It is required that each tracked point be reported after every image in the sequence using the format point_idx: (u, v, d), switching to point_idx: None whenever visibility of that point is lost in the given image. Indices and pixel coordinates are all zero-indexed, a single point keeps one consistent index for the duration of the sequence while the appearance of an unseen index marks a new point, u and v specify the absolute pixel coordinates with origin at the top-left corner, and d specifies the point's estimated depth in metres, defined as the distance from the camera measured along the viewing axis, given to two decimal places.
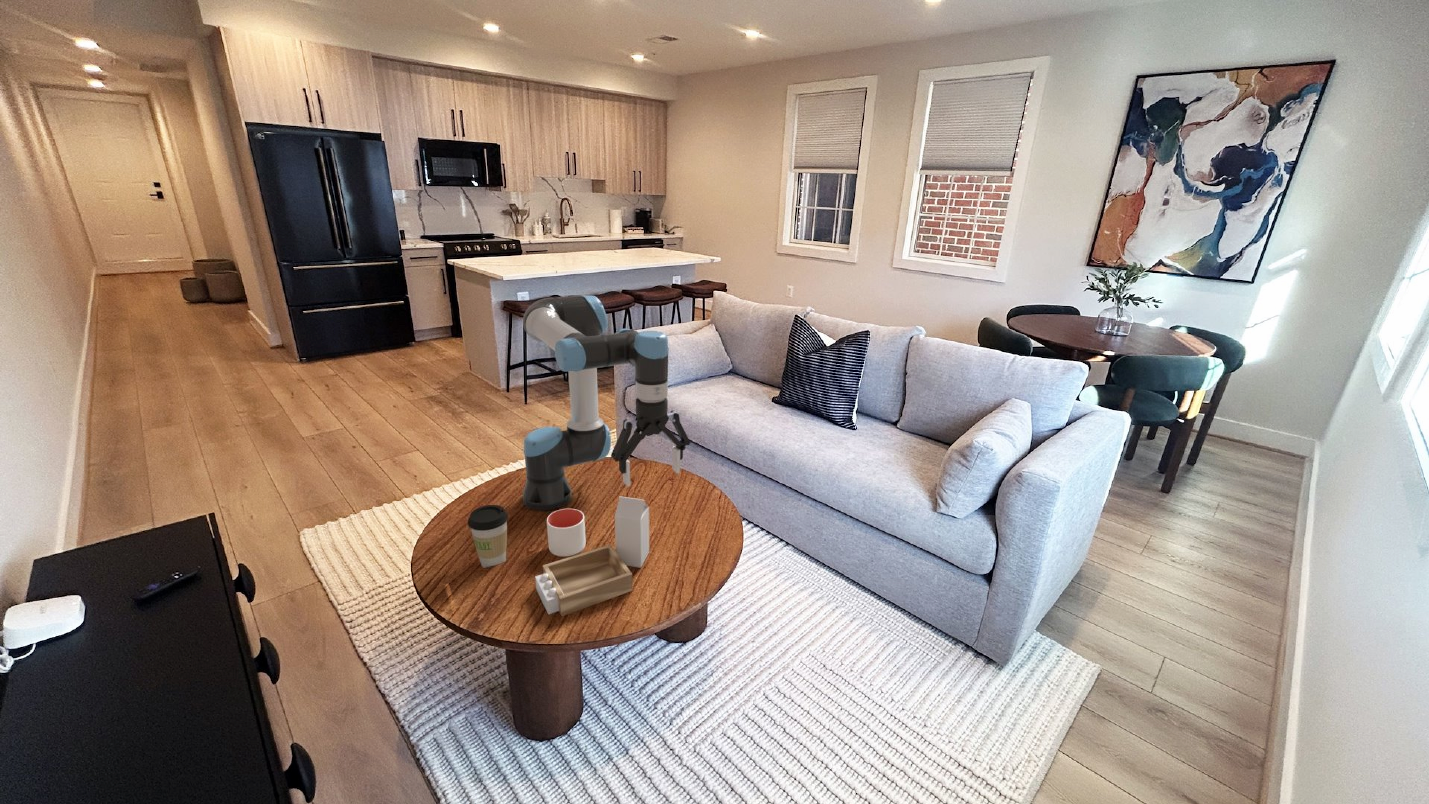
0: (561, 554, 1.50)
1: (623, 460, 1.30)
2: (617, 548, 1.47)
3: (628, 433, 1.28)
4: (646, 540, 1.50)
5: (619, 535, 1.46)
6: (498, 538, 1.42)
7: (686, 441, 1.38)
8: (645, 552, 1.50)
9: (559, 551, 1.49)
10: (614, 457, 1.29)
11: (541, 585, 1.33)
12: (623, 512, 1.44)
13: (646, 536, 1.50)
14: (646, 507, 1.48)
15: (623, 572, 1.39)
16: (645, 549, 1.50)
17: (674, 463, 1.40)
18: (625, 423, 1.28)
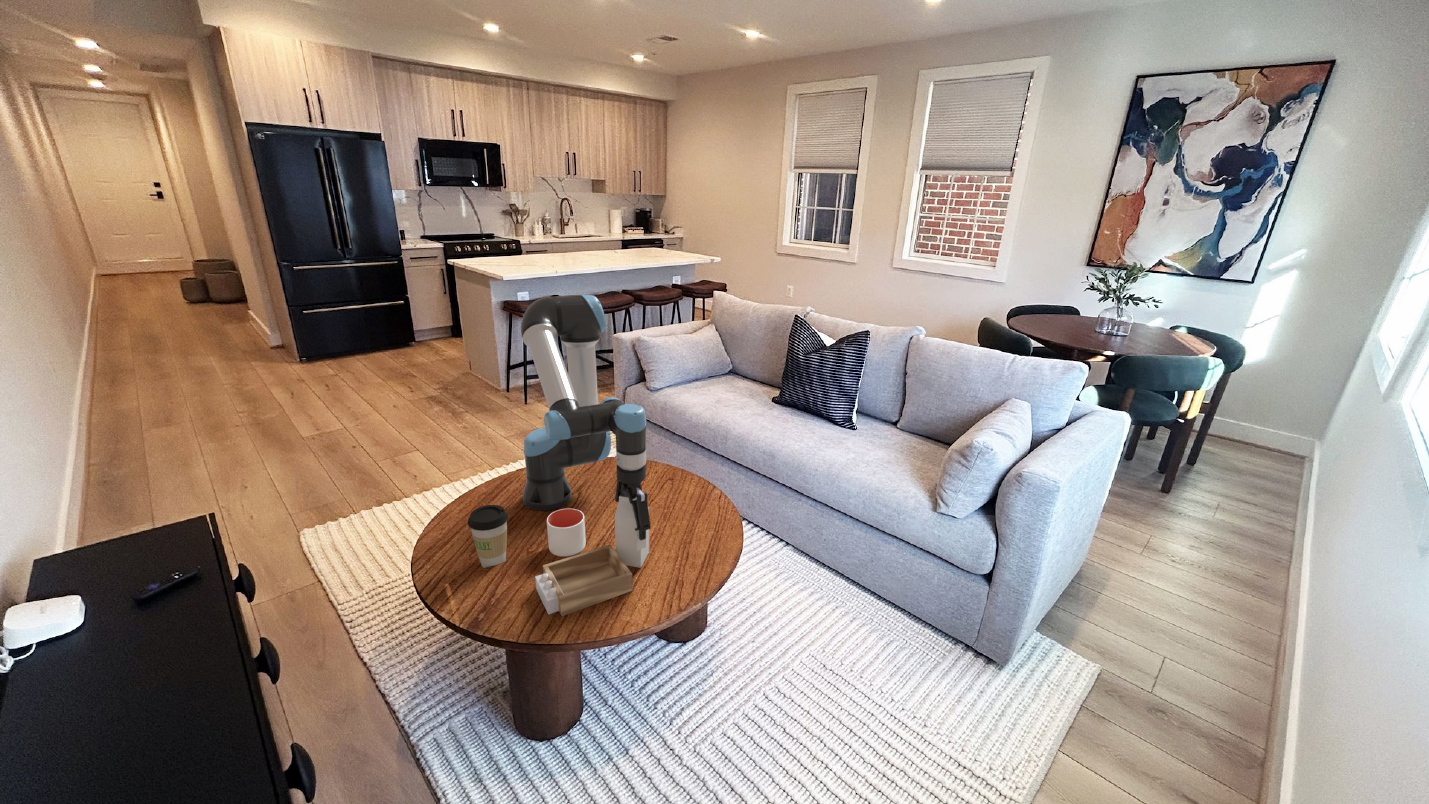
0: (561, 554, 1.50)
1: None
2: (617, 548, 1.47)
3: (618, 482, 1.49)
4: (646, 540, 1.50)
5: (619, 535, 1.46)
6: (498, 538, 1.42)
7: (640, 526, 1.40)
8: (645, 552, 1.50)
9: (559, 551, 1.49)
10: None
11: (541, 585, 1.33)
12: (623, 512, 1.44)
13: (646, 536, 1.50)
14: None
15: (623, 572, 1.39)
16: (645, 549, 1.50)
17: None
18: None
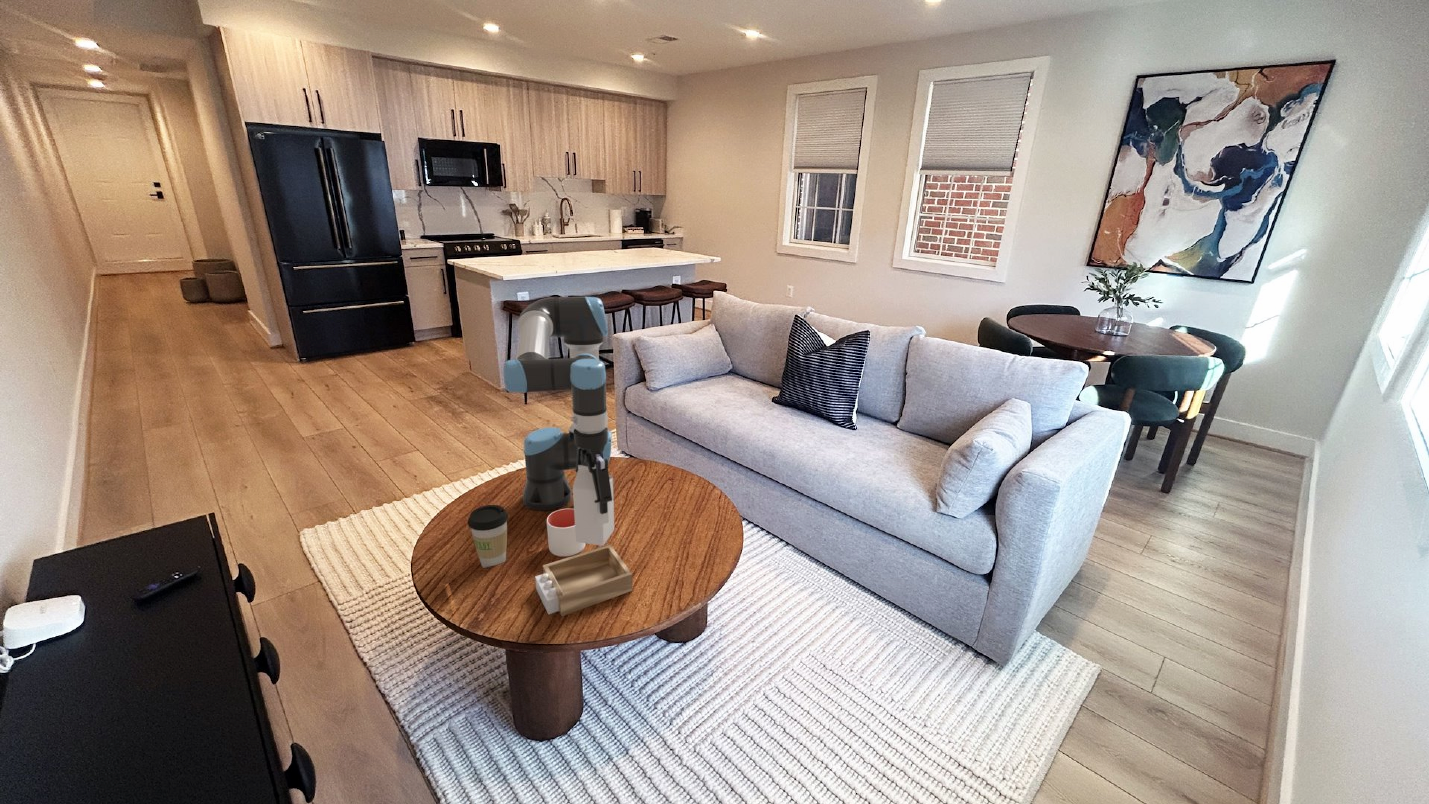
0: (561, 554, 1.50)
1: None
2: (576, 524, 1.31)
3: (577, 450, 1.32)
4: (610, 515, 1.34)
5: (578, 508, 1.29)
6: (498, 538, 1.42)
7: (600, 497, 1.23)
8: (609, 529, 1.34)
9: (559, 551, 1.49)
10: None
11: (541, 585, 1.33)
12: (582, 482, 1.28)
13: (610, 511, 1.33)
14: (609, 478, 1.32)
15: (623, 572, 1.39)
16: (609, 525, 1.34)
17: None
18: None
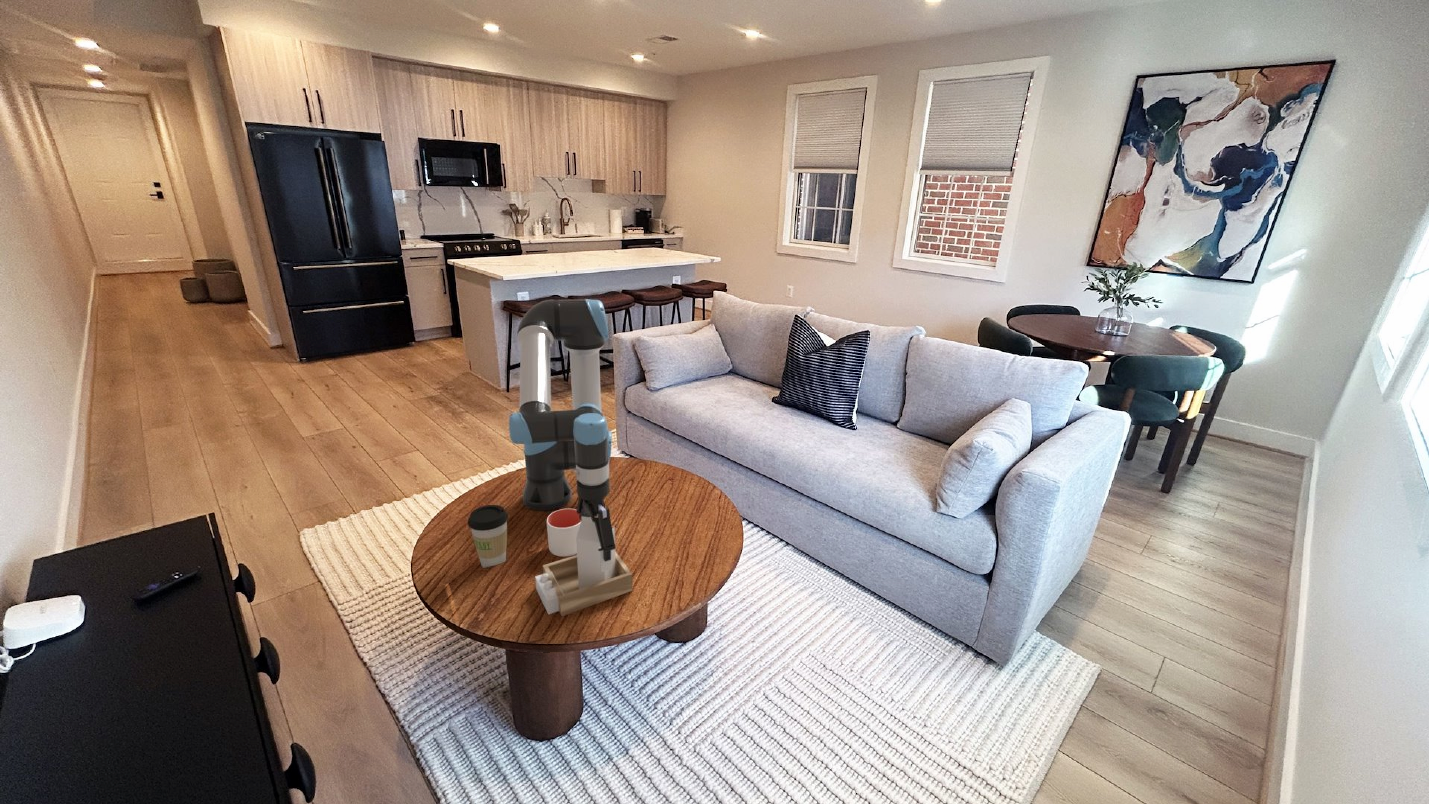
0: (561, 554, 1.50)
1: None
2: (579, 572, 1.36)
3: None
4: (612, 563, 1.39)
5: (581, 558, 1.34)
6: (498, 538, 1.42)
7: (603, 546, 1.27)
8: (610, 576, 1.39)
9: (559, 551, 1.49)
10: None
11: (541, 585, 1.33)
12: (585, 534, 1.33)
13: None
14: None
15: (623, 572, 1.39)
16: (610, 573, 1.39)
17: None
18: None
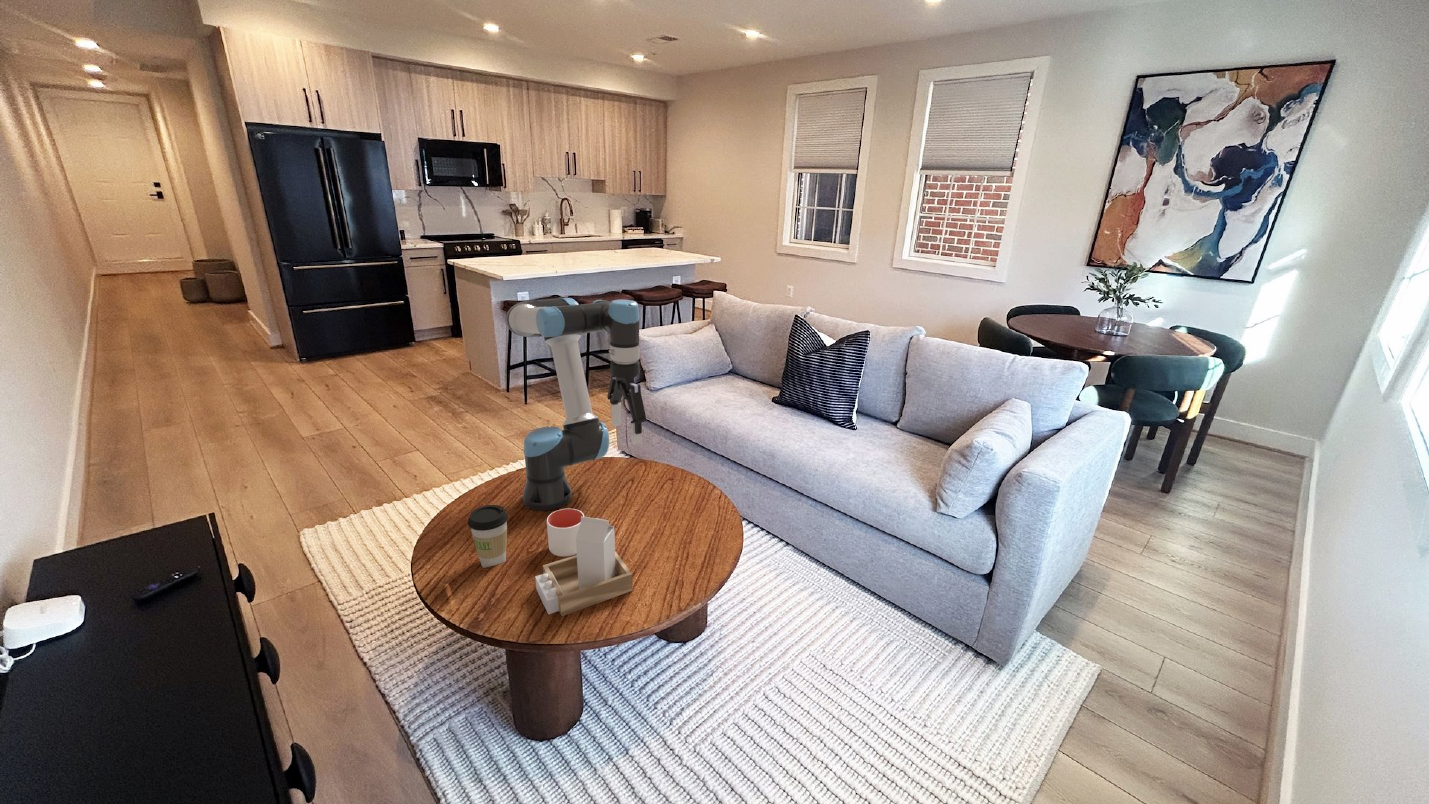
0: (561, 554, 1.50)
1: (610, 401, 1.55)
2: (579, 572, 1.36)
3: (611, 380, 1.52)
4: (611, 563, 1.39)
5: (581, 558, 1.34)
6: (498, 538, 1.42)
7: (635, 418, 1.41)
8: (610, 576, 1.39)
9: (559, 551, 1.49)
10: None
11: (541, 585, 1.33)
12: (585, 534, 1.33)
13: (611, 559, 1.38)
14: (611, 528, 1.37)
15: (623, 572, 1.39)
16: (610, 573, 1.39)
17: None
18: None
